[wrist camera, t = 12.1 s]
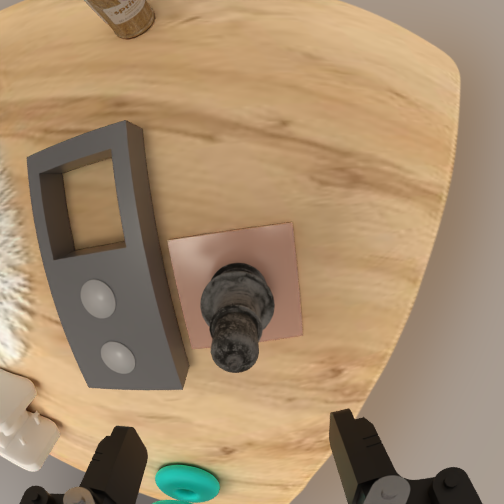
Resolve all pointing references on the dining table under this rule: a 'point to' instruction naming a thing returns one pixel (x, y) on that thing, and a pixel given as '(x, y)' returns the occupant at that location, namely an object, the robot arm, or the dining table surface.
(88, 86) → the dining table surface
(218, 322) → the dark chess piece
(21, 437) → the cable organizer
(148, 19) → the sprinkles bottle
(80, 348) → the socket strip
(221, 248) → the tile pad
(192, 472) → the donuts
